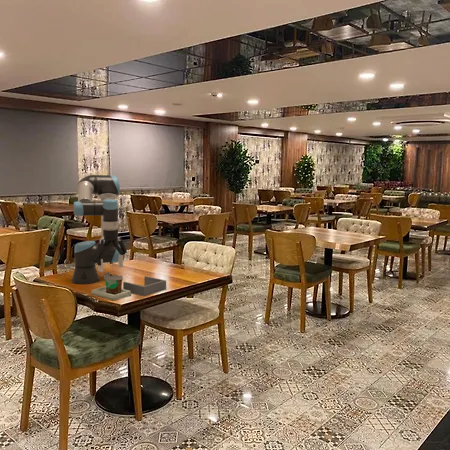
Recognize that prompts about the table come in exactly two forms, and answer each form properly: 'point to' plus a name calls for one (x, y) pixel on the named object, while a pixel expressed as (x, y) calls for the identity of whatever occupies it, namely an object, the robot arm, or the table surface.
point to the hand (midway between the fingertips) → (110, 269)
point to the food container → (113, 283)
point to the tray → (102, 293)
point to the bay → (151, 286)
